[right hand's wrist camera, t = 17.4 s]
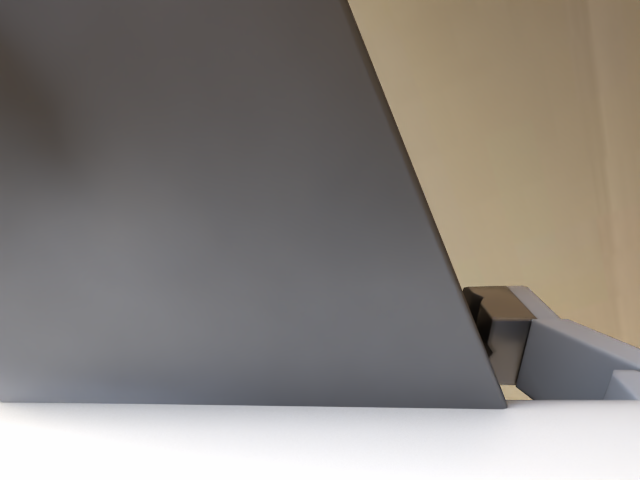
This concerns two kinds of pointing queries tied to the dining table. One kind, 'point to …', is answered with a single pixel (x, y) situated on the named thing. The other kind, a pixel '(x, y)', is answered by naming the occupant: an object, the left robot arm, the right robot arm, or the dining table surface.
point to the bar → (217, 215)
